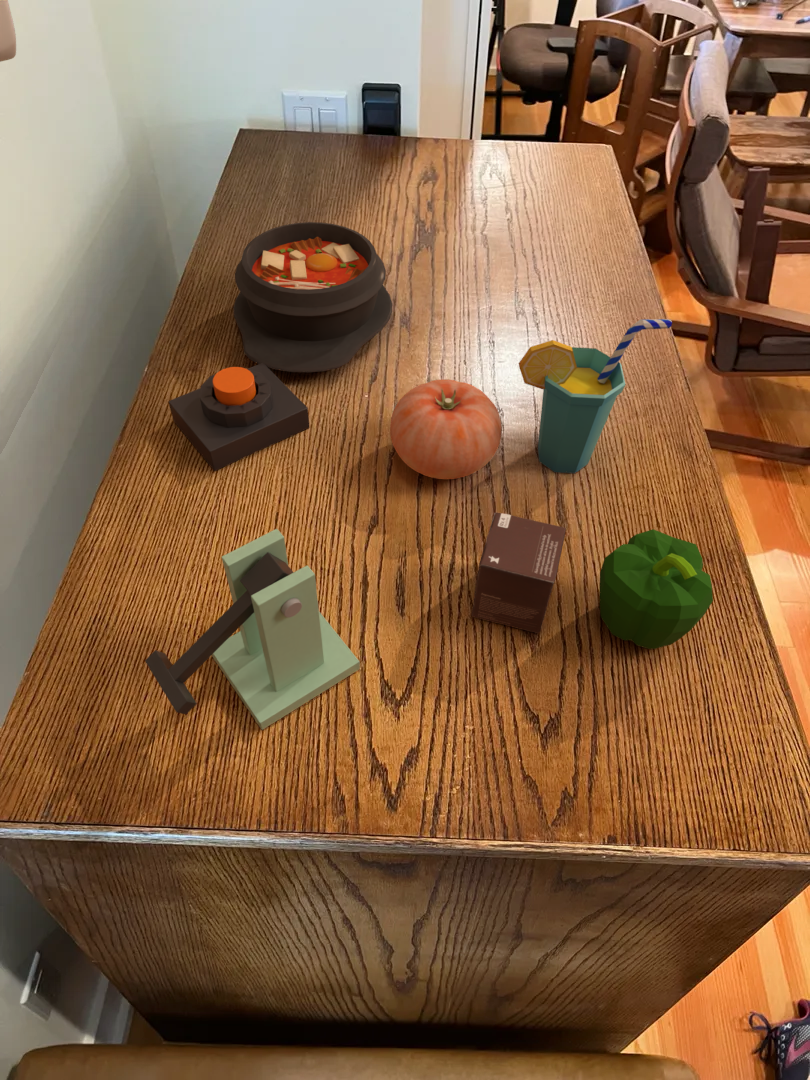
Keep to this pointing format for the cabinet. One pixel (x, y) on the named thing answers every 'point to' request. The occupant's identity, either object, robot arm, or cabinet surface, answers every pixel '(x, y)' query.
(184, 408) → the button housing
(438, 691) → the cabinet surface
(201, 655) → the lever
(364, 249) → the casserole
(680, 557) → the bell pepper
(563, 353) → the cup
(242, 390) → the button
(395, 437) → the tomato
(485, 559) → the box
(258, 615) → the lever stand
